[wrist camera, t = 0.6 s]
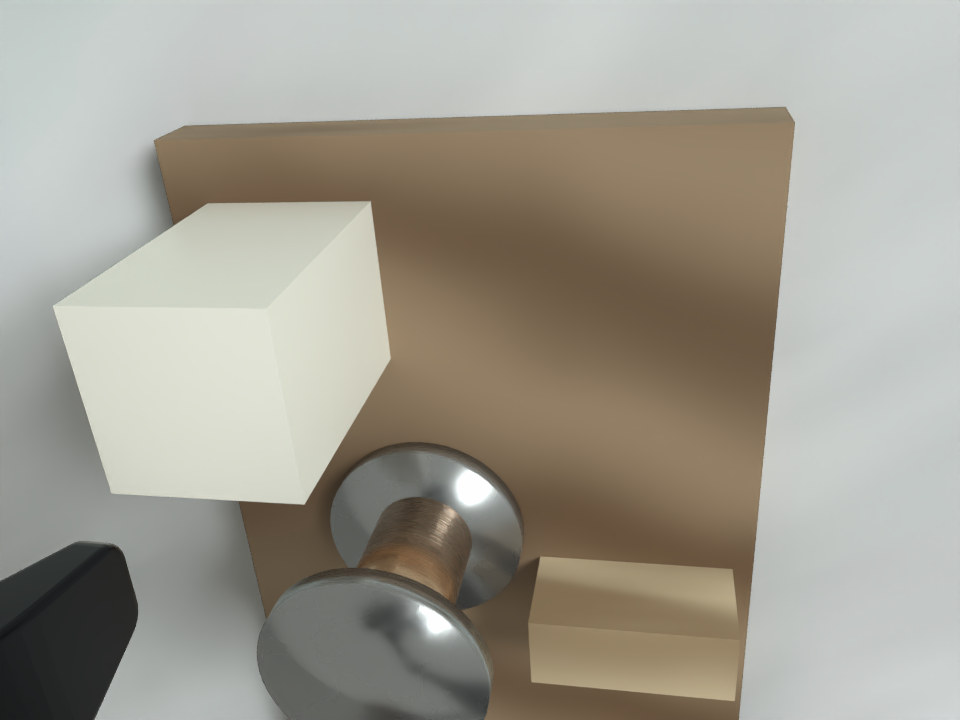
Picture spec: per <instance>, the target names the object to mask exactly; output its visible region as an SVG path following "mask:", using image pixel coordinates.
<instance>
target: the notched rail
mask: <svg viewBox="0 0 960 720" xmlns="http://www.w3.org/2000/svg"><path fill="white" fill-rule="evenodd" d="M528 629H529V647H530V665H531V682H535V683H546V684H557V685H567V686H578V687H589V688H599V689H610V690H621V691H631V692H642V693H653V694H663V695H674V696H685V697H695V698H706V699H717V700H727V701H735V693H736V682H737V671H738V660H739V649H740V633H739V624H738V615H737V605H736V596H735V587H734V578H733V569H723V568H708V567H693V566H678V565H663V564H647V563H632V562H617V561H602V560H587V559H572V558H557V557H541V556H540V561H539V567H538V572H537V578H536V583H535V589H534V594H533V599H532V605H531V610H530V616H529V621H528Z"/></svg>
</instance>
